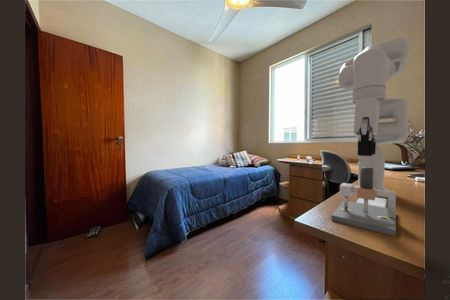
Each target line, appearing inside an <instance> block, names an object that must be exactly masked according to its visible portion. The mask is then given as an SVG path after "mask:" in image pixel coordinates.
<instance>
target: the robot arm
mask: <svg viewBox="0 0 450 300" xmlns="http://www.w3.org/2000/svg"><path fill="white" fill-rule="evenodd" d="M409 46H410V45H409V42H408V39H406V38H405V37H395V38H391V39H389V40H384V41H381V42H376V43H374V44H370V45H369V46H367V47H366V48H365V49H363V51H362V52H360V53H357V55H355V57H354V58H352V59H350V60H348V61H346V62H344V63H343V65H341V66H342V67H340V70H339V73H338V76H337V77H338V79H337V80H338V85H339V86H340V88H341V89H343V90H350V89H352V98H351V99H352V101H351V102H352V104H354V105H355V109H354V121H353V123H354V124H353V135H355V136H356V137H357V156H358V169H357V171H358V178H357V180H358V181H357V182H358V183H357V184H354V186H356V187H358V186H360V167H370V168H373V188H375V189H379V190H387V191H389V189H388V188H386V187H385V163H386V159H385V158H386V156H385V155H386V154H385V151H384V150H383V149H382V148H381V146H379V145H378V144H402V143H405V142H406V141H407V139H408V136H409V107H408V102H407V100H406V98H404V97H402V96H397V97H396V96H395V97H388V98H386V96H387V95H386V94H387V93H386V92H387V91H386V90H387V89H386V88H387V85H386V84H387V82H389V81H390V80H391V79H392V77H394V76H398V75H401V74H402V73H403V72H404V71H405V69H406V66H407V61H408V56H409V52H410V51H409V50H410V47H409ZM385 120H386V121H385ZM387 120H388V121H387ZM389 120H391V121H389ZM380 121H382V122H380Z"/></svg>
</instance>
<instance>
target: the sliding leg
mask: <svg viewBox="0 0 450 300" xmlns="http://www.w3.org/2000/svg"><path fill="white" fill-rule="evenodd" d="M356 194H357V195H356V198H358V199H359V198H362V199H364V213H366V214H368V200H375V197H376V196H375V188H373V168H370V167H360V186H358V188H357V193H356Z"/></svg>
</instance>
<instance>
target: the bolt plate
mask: <svg viewBox="0 0 450 300" xmlns="http://www.w3.org/2000/svg"><path fill="white" fill-rule="evenodd" d="M356 202H357V201H356ZM356 202H354V201H349V200H348V209H344V200H343V201H342V202H341V203H340V205H338V206H337V208H336V209H335V210H334V212H333V213H332V214H331V219H330V220H331V221H333V222H338V223H342V224H345V225H350V226H354V227H358V228H360V229H361V228H362V229H366V230H370V231H373V232H374V231H375V232H378V233H381V234H385V235H389V236H394V237H396V233H397V232H396V231H397V229H396V228H397V227H396V226H397V225H396V222H397V220H396V219H397V218H396V213H397V212H396V209H395V219H394V218H389V217H388V207H386V208H384V207H378V206H373V205H368V214H366V213H364V204H362V203H356Z"/></svg>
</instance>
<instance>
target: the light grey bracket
mask: <svg viewBox="0 0 450 300" xmlns="http://www.w3.org/2000/svg"><path fill="white" fill-rule="evenodd" d="M357 188H358V187H356V186H355V184H354V183H348V182H342V183H340V185H339V196H343V198H344V199H343V201H344V209H348V201H349V197H352V196H353V195H354V193H356V194H357ZM396 196H397V192H396V191H393V190H388V191H387V190H379V189H375V197H381V198H387V208H388V217H389V218H394V219H395V210H396V205H397V204H396V202H397V201H396V199H397V197H396Z"/></svg>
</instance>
